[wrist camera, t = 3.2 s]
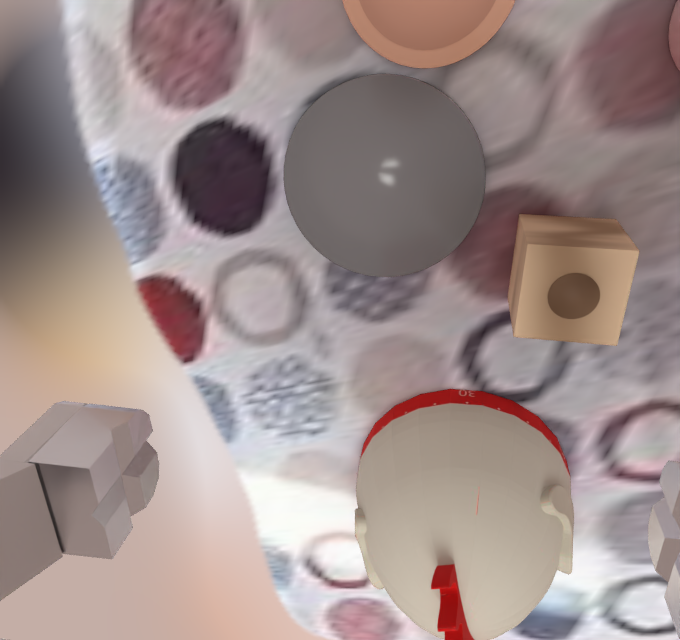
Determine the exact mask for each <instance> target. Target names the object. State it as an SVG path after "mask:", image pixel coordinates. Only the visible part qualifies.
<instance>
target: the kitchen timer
mask: <svg viewBox="0 0 680 640" xmlns="http://www.w3.org/2000/svg"><path fill="white" fill-rule="evenodd" d="M356 497H357V504H358V509H356V510H355V536H356V538H357V541H358V543H359V546H360V549H361V553H362V556H363V560H364V564H365V568H366V572H367V575H368V577H369V579H370V581H371V583H372V585H373V586H374V587H376V588H377V589H383V588H385V589H386V591H387V593H388V594H389V596H390V597H391V599H392V600H393V602H394V603H395V604H396V605H397V607H398V608H399V609H400V610H401V611H402V612H403V613H405V614H406V615H407V616H408V617H409V618H410V619H411V620H412V621H413V622H414V623H415V624H416V625H418V626H419V627H421V628H422V629H424V630H426V631H427V632H429V633H431V634H432V635H434V636H436V637H439V638H442V639H445V640H490V639H494V638H496V637H498V636H500V635H502V634H504V633H505V632H507V631H509V630H511V629H512V628H514V627H516V626H517V625H518V624H519V623H521V622H522V621H523V620H524V619H525V618H526V617H527V615H528V614H529V613H530V612H531V611H532V610H533V609H534V608H535V607H536V606H537V605H538V603H539V602H540V601H541V600H542V598H543V597H544V595H545V594H546V593H547V591H548V589H549V587H550V585H551V583H552V581H553V578H554V576H555V573H556V571H557V570H559V571H561V572H564V573H566V574H571V572H572V558H573V527H574V510H573V503H572V499H571V481H570V474H569V470H568V465H567V461H566V459H565V456H564V454H563V451H562V449H561V447H560V444H559V442H558V439H557V437H556V436H555V435H554V434H553V433H552V432H551V431H550V429H549V428H548V427H547V426H546V425H545V424H544V423H543V422H542V420H541V419H540V418H539V417H538V416H536V415H535V414H533V413H531V412H530V411H528V410H527V409H525V408H523V407H522V406H520V405H519V404H517V403H515V402H514V401H512V400H509V399H506V398H502V397H499V396H496V395H493V394H490V393H487V392H483V391H472V390H457V389H448V390H442V391H437V392H431V393H425V394H420V395H418V396H416V397H413V398H411V399H409V400H407V401H405V402H403V403H400V404H398V405H396V406H394V407H393V408H392V409H391V410H390V411H389V412H387V413H386V414H385V415H384V416H383V417H382V418H381V419H380V420H378V421H377V422H376V423H375V425H374V427H373V428H372V430H371V432H370V434H369V435H368V437H367V439H366V441H365V442H364V445H363V449H362V454H361V458H360V464H359V470H358V477H357V485H356Z"/></svg>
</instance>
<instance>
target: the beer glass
mask: <svg viewBox="0 0 680 640" xmlns="http://www.w3.org/2000/svg"><path fill="white" fill-rule="evenodd" d="M668 38H669V48H670V52H671V55H672V58H673V61H674V63H675V65H676V66H677V68H678V69H679V71H680V0H677V2H676V4H675V7H674V9H673V12H672V15H671V19H670V24H669V34H668Z"/></svg>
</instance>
